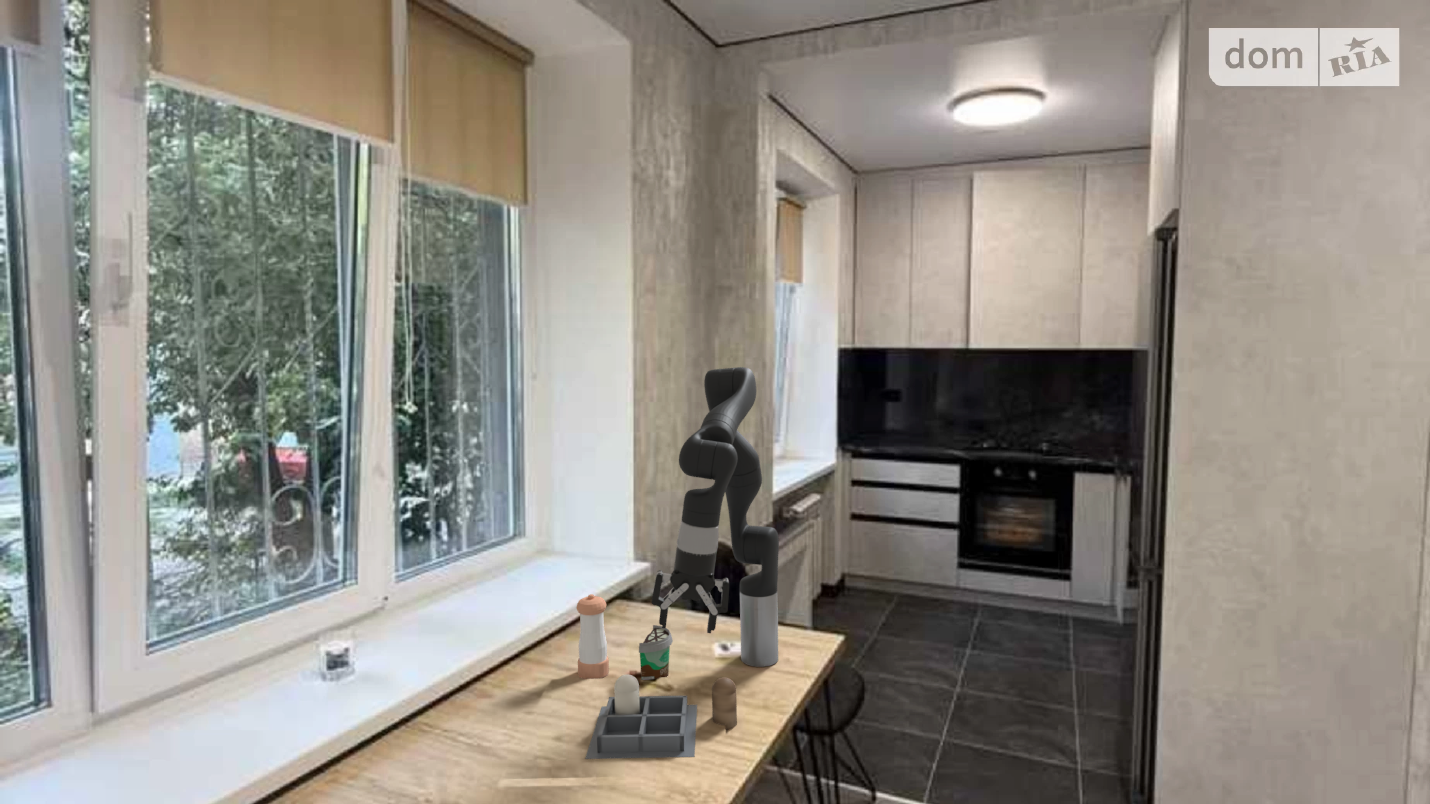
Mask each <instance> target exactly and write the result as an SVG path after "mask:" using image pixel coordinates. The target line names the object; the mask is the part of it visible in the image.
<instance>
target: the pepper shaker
mask: <svg viewBox="0 0 1430 804" xmlns="http://www.w3.org/2000/svg"><path fill="white" fill-rule="evenodd" d="M575 608H576V610H577V612H578V613H579V616H580V617H579V618H580V621H579V624H580V625H579V626H580V630H579V631H580V633H579V641H578V661H577V676H578V677H579V678H580V679H583V680H589V679H590V680H594V679H595V680H596V679H597V680H599V679H603V678H605V677H606V676H608V675H609V673H610V665H609V664H610V662H609V661H610V660H609V658H610V657H609V656H608V643H607V638H606V632H605V626H604V624H605V622H604V612H605V611H606V608H607V602H606V601H605V599H604V598H603V597H601V596H596V595H595V594H588V596H585V597H582V598H581V599H579V600H578V602H577V604H576V607H575Z"/></svg>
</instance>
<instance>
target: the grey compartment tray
mask: <svg viewBox="0 0 1430 804" xmlns="http://www.w3.org/2000/svg"><path fill="white" fill-rule="evenodd" d="M639 703H640V714H637V715H615V696H609V697H608V700H607V703H606V706H605V705H604V706H603V705H602V706H601V708H600V710H599V713H598V717H597V720H596V724H595V726H594V729H593V732H592V737H591V740H590V743H589V745H588V749H587V752H586V755H585V758H584V759H585V760H593V759H594V760H595V759H596V760H598V759H599V760H603V759H607V760H608V759H653V758H657V759H658V758H660V759H661V758H695V754H696V752H695V751H696V739H697V738H696V732H697V716H698V713H697V712H698V704H688V695H650V696H649V695H646V696H644V695H641V696H640V695H639Z"/></svg>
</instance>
